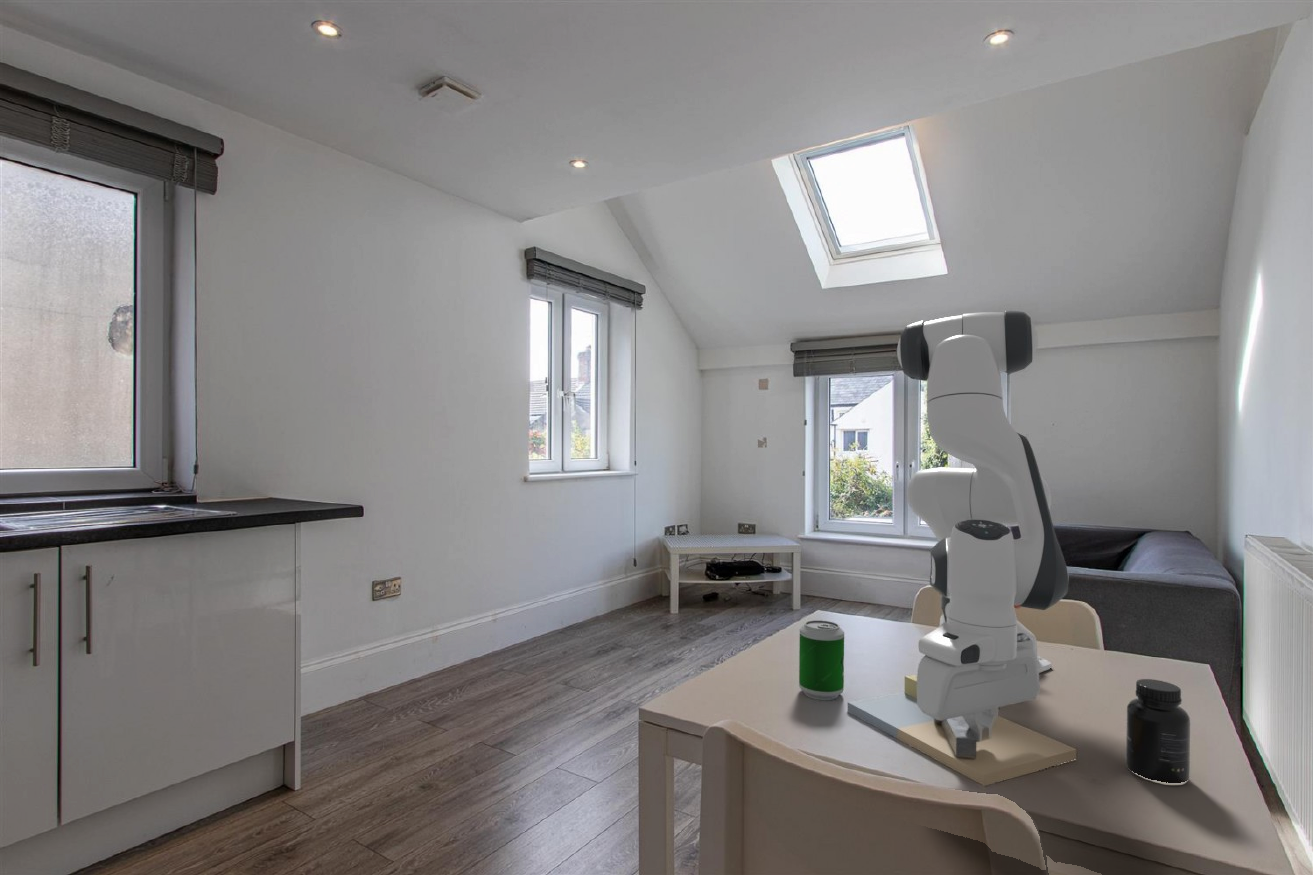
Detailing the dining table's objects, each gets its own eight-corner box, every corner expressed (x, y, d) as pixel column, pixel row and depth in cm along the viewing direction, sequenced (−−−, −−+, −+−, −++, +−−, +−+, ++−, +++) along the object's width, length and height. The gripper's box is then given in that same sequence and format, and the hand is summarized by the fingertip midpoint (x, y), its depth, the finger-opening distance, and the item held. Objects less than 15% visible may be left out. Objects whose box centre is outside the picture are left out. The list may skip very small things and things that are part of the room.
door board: (929, 695, 118) (930, 670, 118) (1076, 760, 94) (1076, 729, 94) (847, 711, 111) (847, 684, 111) (984, 785, 87) (984, 752, 87)
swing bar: (931, 716, 104) (931, 693, 104) (959, 718, 104) (959, 695, 104) (950, 755, 91) (950, 729, 91) (982, 759, 90) (982, 732, 90)
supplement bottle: (1113, 763, 94) (1114, 675, 94) (1160, 761, 94) (1160, 675, 94) (1154, 788, 87) (1155, 694, 87) (1203, 787, 87) (1204, 693, 87)
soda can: (845, 703, 114) (845, 631, 114) (799, 699, 115) (799, 628, 115) (842, 687, 121) (842, 620, 121) (798, 684, 123) (799, 617, 123)
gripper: (1012, 625, 102) (1011, 717, 102) (909, 641, 93) (907, 742, 93) (1052, 636, 96) (1051, 735, 96) (946, 655, 87) (945, 763, 87)
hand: (979, 739), depth 94 cm, fingers closed
